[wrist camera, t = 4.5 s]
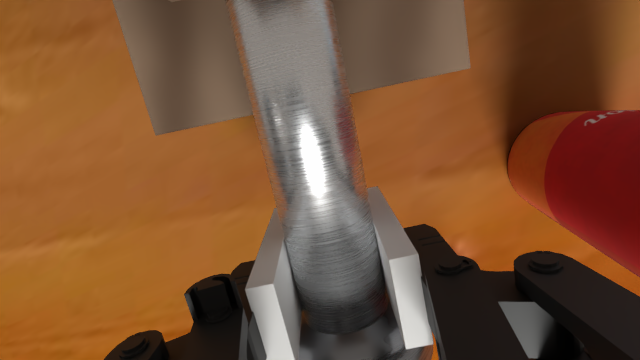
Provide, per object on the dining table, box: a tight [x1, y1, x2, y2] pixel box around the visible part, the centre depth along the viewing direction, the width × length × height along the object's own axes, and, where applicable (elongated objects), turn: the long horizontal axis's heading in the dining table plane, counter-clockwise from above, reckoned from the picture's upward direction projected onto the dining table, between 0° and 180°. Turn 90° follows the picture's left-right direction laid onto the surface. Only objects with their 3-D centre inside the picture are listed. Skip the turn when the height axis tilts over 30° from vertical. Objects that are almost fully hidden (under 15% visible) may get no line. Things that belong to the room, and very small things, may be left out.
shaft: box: [225, 0, 433, 360], centre depth 11 cm, size 6×18×6 cm, turn 12°
